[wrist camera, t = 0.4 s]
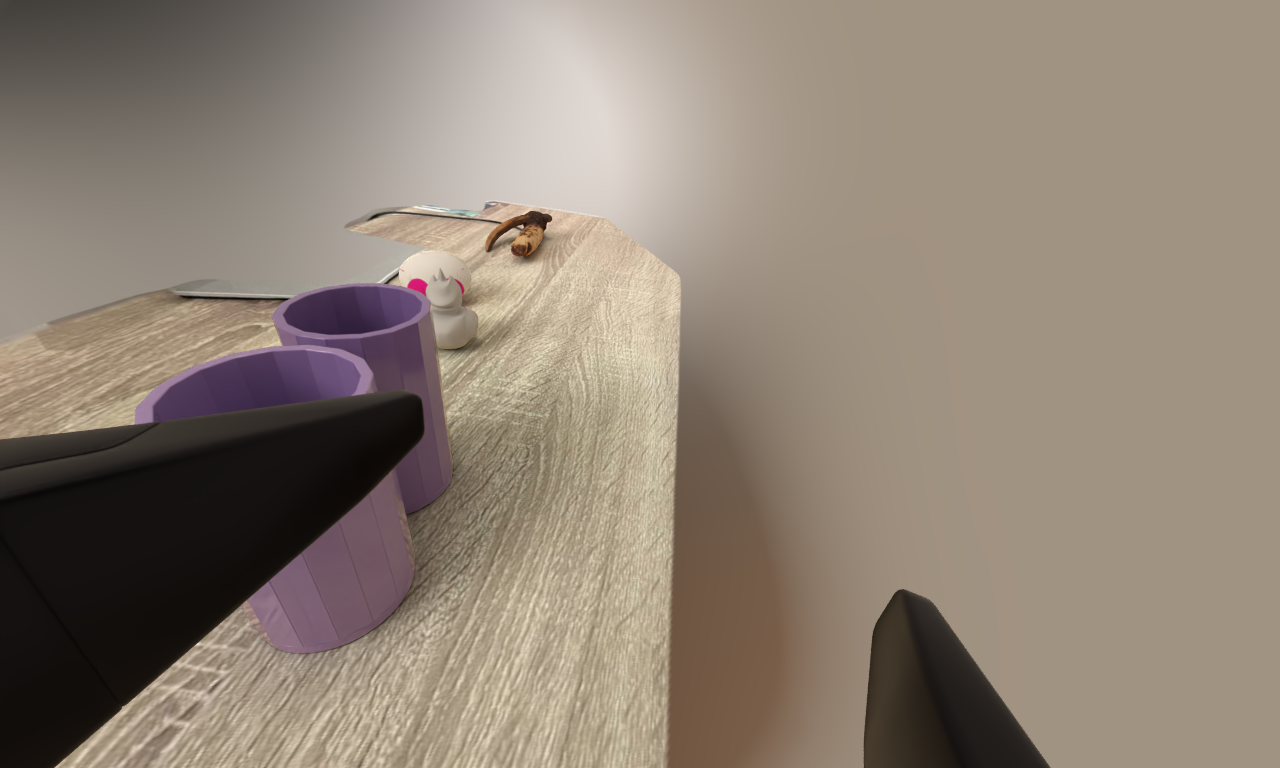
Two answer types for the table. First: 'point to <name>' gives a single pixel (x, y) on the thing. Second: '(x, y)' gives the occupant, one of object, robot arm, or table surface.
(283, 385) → the tumbler
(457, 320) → the rubber duck
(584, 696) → the table surface
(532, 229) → the lashed bone hook
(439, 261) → the stress ball
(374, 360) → the tumbler
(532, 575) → the table surface
